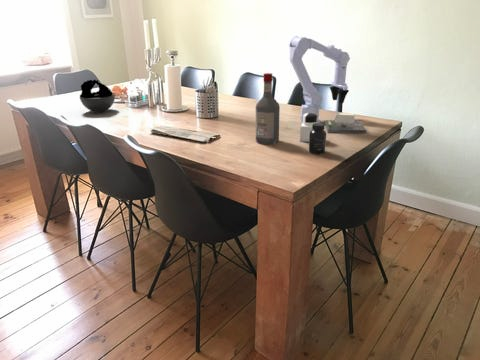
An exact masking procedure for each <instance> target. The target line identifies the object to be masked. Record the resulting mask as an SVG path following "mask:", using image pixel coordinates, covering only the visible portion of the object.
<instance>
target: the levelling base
mask: <svg viewBox="0 0 480 360" xmlns="http://www.w3.org/2000/svg"><path fill="white" fill-rule="evenodd" d="M323 124H324V128H325V129H326V130H325V131H326V133H327V134H367V129H366V128H365V126H364V125H363V124H362V123H361V122H360V120H359V119H358V120H355V119H354V123H347V125H342V123H335V119H331V120H329V119H328V120H326V119H325V120H324V119H323Z"/></svg>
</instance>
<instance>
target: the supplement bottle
mask: <svg viewBox="0 0 480 360" xmlns="http://www.w3.org/2000/svg"><path fill="white" fill-rule="evenodd" d="M312 129H313V130H311V131H310V135H309V142H308V152H309V153H310V154H312V155H323V154H325V153H326V147H327V146H326V145H327V130H325V129H326V128H325V125H324V122H320V123H313V125H312Z"/></svg>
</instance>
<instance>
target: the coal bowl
mask: <svg viewBox="0 0 480 360" xmlns="http://www.w3.org/2000/svg"><path fill="white" fill-rule="evenodd" d="M95 85H97V86H98V90H97V91H93V92H92V90H93V88H94V87H95ZM80 89H81V93H80V94H79V99H80V100H79V101H80V102H81V104H82V105H83V106H84V108H85V109H87V110H88V111H91V112H93V111H94V112H93V113H102V112H101V111H103V112H106V111H108V110H110V109H111V107H112V106H113V104H114V103H115V98H116V94H115V92H113V91H112V90H111V89H110V88H109V87H108V86H106V85H105V84H104V83H102V82H100V80H97V79H93V80H92V79H90V80H86V81H83V83H82V84H81V85H80Z"/></svg>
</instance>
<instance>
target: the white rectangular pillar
mask: <svg viewBox="0 0 480 360" xmlns="http://www.w3.org/2000/svg"><path fill="white" fill-rule="evenodd" d="M334 120H335V123H342V125H347V123H354V120H355V113H346V112H345V113H342V112H341V113H338V112H337V113H335V115H334Z"/></svg>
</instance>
